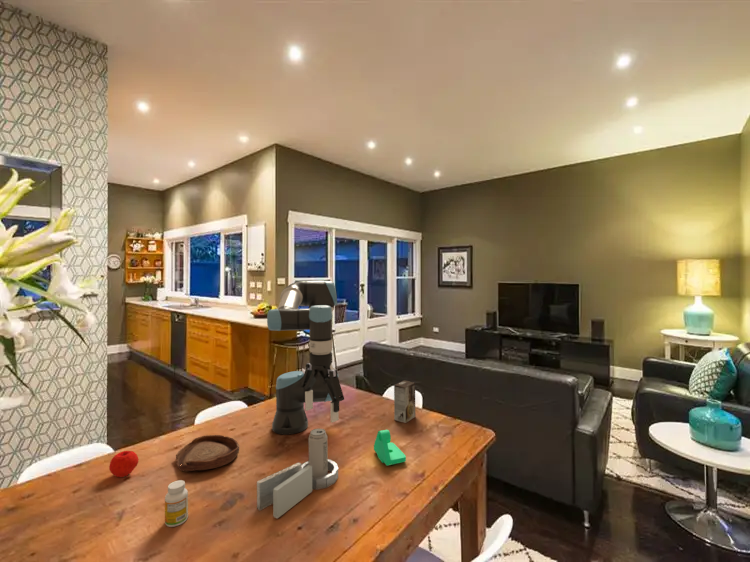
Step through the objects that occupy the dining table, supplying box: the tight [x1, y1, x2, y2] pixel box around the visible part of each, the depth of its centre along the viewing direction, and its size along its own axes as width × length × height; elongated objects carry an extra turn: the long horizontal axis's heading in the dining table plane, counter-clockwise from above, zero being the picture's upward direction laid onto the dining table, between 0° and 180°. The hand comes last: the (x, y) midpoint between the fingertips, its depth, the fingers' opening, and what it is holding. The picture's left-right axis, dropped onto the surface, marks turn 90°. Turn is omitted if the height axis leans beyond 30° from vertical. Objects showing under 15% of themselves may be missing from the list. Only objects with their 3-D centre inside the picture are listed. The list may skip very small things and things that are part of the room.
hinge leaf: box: [272, 465, 313, 519], centre depth 100 cm, size 2×14×8 cm, turn 149°
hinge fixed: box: [256, 458, 339, 511], centre depth 108 cm, size 12×27×8 cm, turn 137°
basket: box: [175, 434, 240, 472], centre depth 126 cm, size 22×20×5 cm
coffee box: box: [393, 380, 417, 424], centre depth 161 cm, size 9×6×16 cm
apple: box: [108, 450, 140, 478], centre depth 116 cm, size 8×8×7 cm
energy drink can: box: [308, 428, 329, 478], centre depth 113 cm, size 6×6×15 cm
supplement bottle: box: [164, 479, 189, 528], centre depth 93 cm, size 5×5×10 cm
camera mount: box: [373, 429, 407, 466], centre depth 126 cm, size 12×8×10 cm, turn 22°
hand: (321, 415), depth 117 cm, fingers open, 13 cm apart
